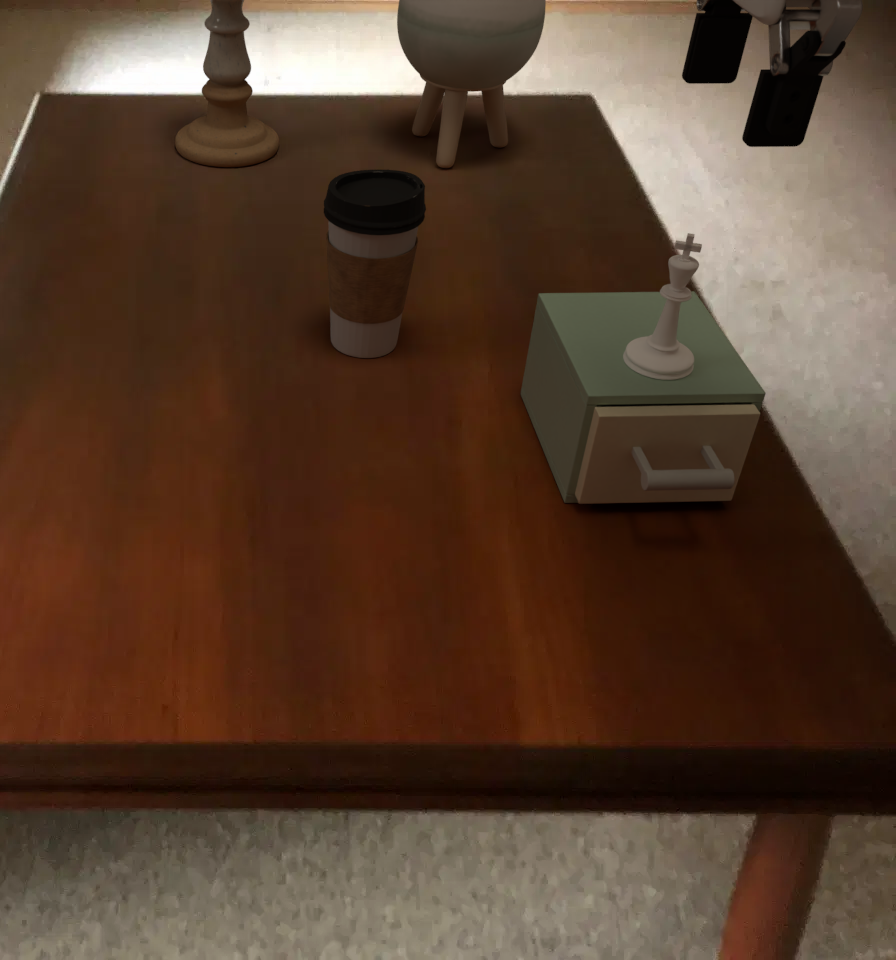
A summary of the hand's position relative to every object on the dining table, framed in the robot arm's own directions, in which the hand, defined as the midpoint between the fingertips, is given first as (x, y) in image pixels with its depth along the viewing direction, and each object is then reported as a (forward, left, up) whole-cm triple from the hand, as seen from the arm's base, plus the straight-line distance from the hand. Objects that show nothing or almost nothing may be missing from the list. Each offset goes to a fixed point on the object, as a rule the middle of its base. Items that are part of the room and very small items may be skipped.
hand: (737, 111), depth 68 cm
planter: (+55, -41, -31) cm, 75 cm away
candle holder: (+72, -20, -31) cm, 81 cm away
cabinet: (+6, -7, -30) cm, 32 cm away
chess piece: (+4, -5, -21) cm, 22 cm away
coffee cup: (+30, -2, -31) cm, 43 cm away
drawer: (+3, -5, -29) cm, 30 cm away
